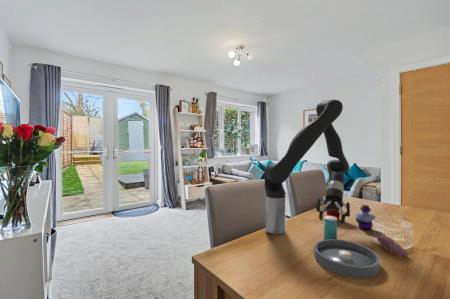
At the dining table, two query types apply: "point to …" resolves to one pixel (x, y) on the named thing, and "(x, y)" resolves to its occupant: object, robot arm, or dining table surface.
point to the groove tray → (347, 258)
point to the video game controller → (392, 246)
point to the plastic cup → (333, 212)
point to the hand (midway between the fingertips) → (331, 221)
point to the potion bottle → (365, 218)
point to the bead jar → (330, 227)
